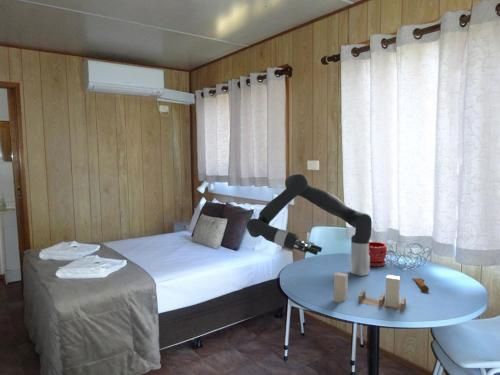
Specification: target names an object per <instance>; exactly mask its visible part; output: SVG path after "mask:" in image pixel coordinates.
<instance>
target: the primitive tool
mask: <svg viewBox="0 0 500 375" xmlns="http://www.w3.org/2000/svg"><path fill="white" fill-rule="evenodd" d="M412 279H413V280H414V281H415V282H416V283H417V284H416V283H415V282H414V281H413V280H412ZM411 280H412V281H413V282H414V283H415V284H416V285H417V286H418V287H419V288H420V292H422V291H423V292H422V293H428V292H429V290H430V288H429V287H428V286H427V285H426V284H425V280H424V279H423V278H420V277H419V278H418V277H417V278H415V277H413V278H411Z"/></svg>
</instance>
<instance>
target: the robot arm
mask: <svg viewBox="0 0 500 375" xmlns="http://www.w3.org/2000/svg"><path fill="white" fill-rule="evenodd" d="M284 185H285V189H284V190H283V191H282V192H281V193H280V194H278V195H277V196H276V197H274V198H273V199H272V200H270V201H269V202H268V203H267V204H266V205H265V206H264V207H263V208H262V209H261V210H260V212H259V214H258V217H257V218H250V219H249V220H247V222H246V226H245V227H246V229H247V232H248V234H249V235H250V236H251V237H253V238H259V237H260V236H261V237H262V238H264V240H266V241H268V242H271V243H273V244H276V245H278V246H280V247H283V248H285V249H288V250H290V251H294V250H297V251H300V252H303V253H307V254H308V253H309V254H312V255H314V256H318V253H321V252H322V250H323V248H322V247H321V246H318V245H316V244H315V243H314V242H311V241H308V240H306V239H299V235H298V234H297V233H294V232H291V231H287V230H285V229H280V228H278V227H274V226H272V225H270V223H271V222H272V221H273V220H274V219H275V217H277V215H278V214H279V213H280V212H281V211H282V210H283V209H284V208H285V207H286V206H287V205H288V204H289V203H290V202H292V201H293V200H294V199H295V198H296V197H298V196H299V197H301V198H304V199H305V200H307V201H309V202H310V203H311V204H313V205H314V206H316V207H318V208H320V209H321V210H323V211H325V212H326V213H328V214H331V215H332V216H334V217H338V218H340V219H341V220H343V221H344V222H345V223H347V224H348V225H350V226H351V228H355V232H354V234H353V235H351V237H350V238H351V239H350V244H351V245H350V273H351V274H352V275H355V276H359V277H360V276H362V277H363V276H368V275H369V274H370V273H371V272H370V270H371V265H370V256H369V242H370V239H371V238H372V236H371V235H372V226H373V224H372V218H371V216H370V215H369V214H368V213H365V212H361V211H359V210H355V209H353V208H352V207H349V206H347V205H346V204H345V203H344V202H343V201H342V200H341V199H340V198H338V197H337V196H335V195H334V194H332V193H331V192H328V191H326V190H323V189H320V188H317V187H315V186H312V185H310V184H309V180H308V178H307V177H306V176H305V175H304V174H302V173H298V174H292V175H289V176H288V177H286V179H285V180H284Z"/></svg>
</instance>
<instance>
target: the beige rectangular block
mask: <svg viewBox="0 0 500 375" xmlns="http://www.w3.org/2000/svg"><path fill="white" fill-rule="evenodd" d="M348 281H349V274H348V273H344V272H339V271H337V272H335V273H334V274H333V302H335V303H337V304H338V303H339V304H340V303H341V302H346V301H347V299H348V295H349V294H348V292H349V289H348V288H349V282H348Z"/></svg>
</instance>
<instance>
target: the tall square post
mask: <svg viewBox="0 0 500 375" xmlns="http://www.w3.org/2000/svg"><path fill="white" fill-rule="evenodd" d="M400 291H401V276H399V275H391V274H387V275H386V278H385V306H389V307H395V308H398V307H399V304H400V303H401V300H400V297H401V292H400Z"/></svg>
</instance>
